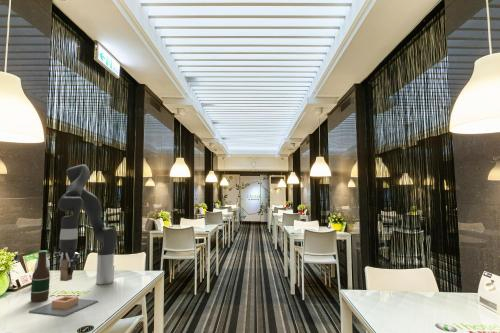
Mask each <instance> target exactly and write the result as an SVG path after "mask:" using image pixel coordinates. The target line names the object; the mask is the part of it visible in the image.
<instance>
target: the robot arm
mask: <svg viewBox="0 0 500 333" xmlns="http://www.w3.org/2000/svg"><path fill="white" fill-rule="evenodd" d="M65 173H66V176H67V179H68V181H69V183H70V184H69V185H68V187H67V189H66V192H65V193H64V194H63V195H62V196H61V197H60V198H59V200H58V202H57V207H58V209H59V211H61V212H73V213H72V214H71V215H66V216H63V217H62V218H61V223H60V224H61V226H60V233H59V244H58V245H59V246H58V248H59V251H58V252H55V253H54V257H55V258H54V259H55V262H56V265H57V266H60V267H61V259H68V261H67V262H68V275H72V276H73V272H74V266H77V265H78V264H79V261H80V258H81V255H82V253H80V252H79V253H78V252H77V250H76V248H77V247H78V237H79V230H78V224H79V218H80V213H81V211H82V208H83V210H84V213H85V214H86V216H87V218H88V221H89V224H90V225H91V227H92V231H93V234H94V238H95V240H97V242H100V243H102V246H101V248H99V249H98V250H97V256H96V257H97V259H96V260H97V261H96V281H95V283H96V285H109V284H111V283H113V282H114V281H115V280H114V279H115V265H114V263H115V262H114V261H115V260H114V257H115V250H116V248H117V231H116V229H115V228H114V227H106V225H105V224H104V222H103V219H102V218H103V217H102V216H103V215H102V213H103V207H102V205H101V202H100V200H99V198H98V196H96V195H94V194H93V193H92V192H90V191H88V189H85V187H86V184H87V182H88V181H89V179H90V178H91V171H90V169H89V167H88V166H87V165H86V164H79V165H76V166H72V167H69V168H67V169H66V171H65ZM72 258H73V259H72ZM70 259H72V260H70ZM71 262H72V263H71ZM59 270H60V274H61V269H59Z"/></svg>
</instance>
